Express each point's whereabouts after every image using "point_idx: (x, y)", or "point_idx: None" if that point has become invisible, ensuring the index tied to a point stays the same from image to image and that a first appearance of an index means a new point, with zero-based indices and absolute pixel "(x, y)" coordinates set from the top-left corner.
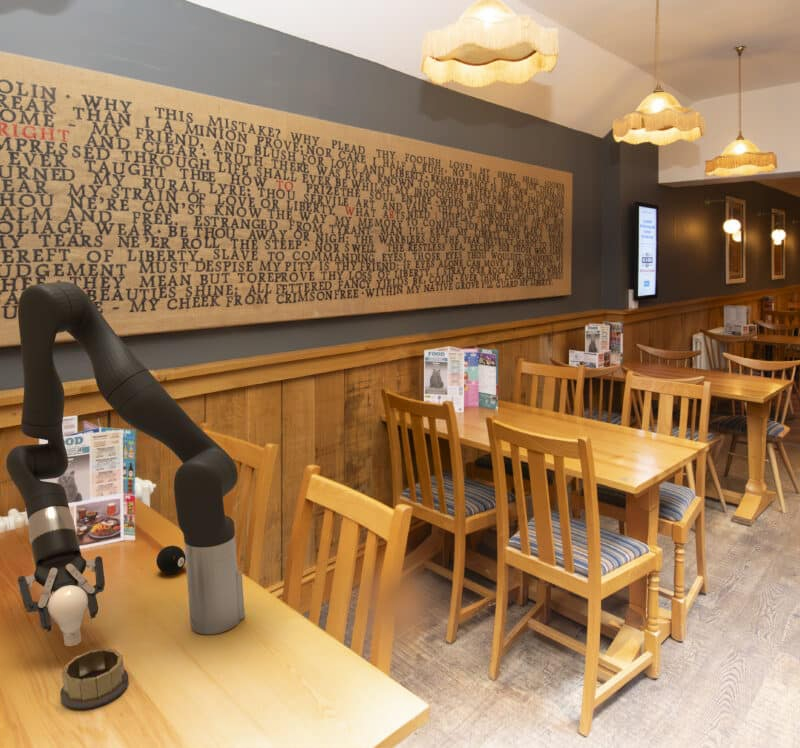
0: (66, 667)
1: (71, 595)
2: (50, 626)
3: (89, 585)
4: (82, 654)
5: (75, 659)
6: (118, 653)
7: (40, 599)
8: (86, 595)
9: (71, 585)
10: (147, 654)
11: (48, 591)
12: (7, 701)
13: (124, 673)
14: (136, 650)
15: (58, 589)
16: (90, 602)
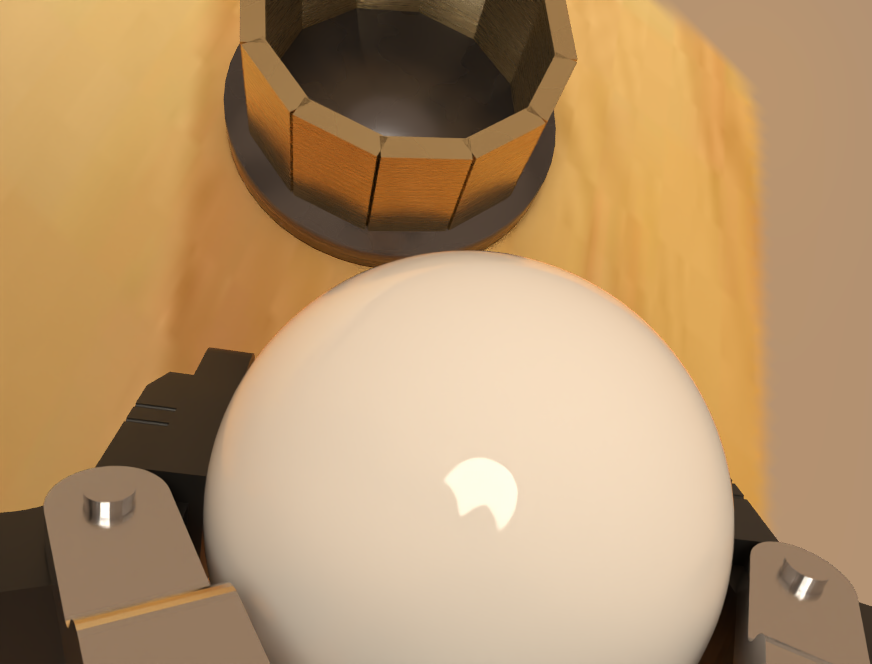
0: (545, 96)
1: (484, 270)
2: None
3: (87, 566)
4: (432, 151)
5: (482, 134)
6: (247, 6)
7: (853, 639)
8: (236, 394)
9: (430, 507)
10: (26, 218)
11: (794, 656)
12: (758, 337)
13: (241, 80)
14: (50, 307)
15: (652, 541)
16: (208, 410)
